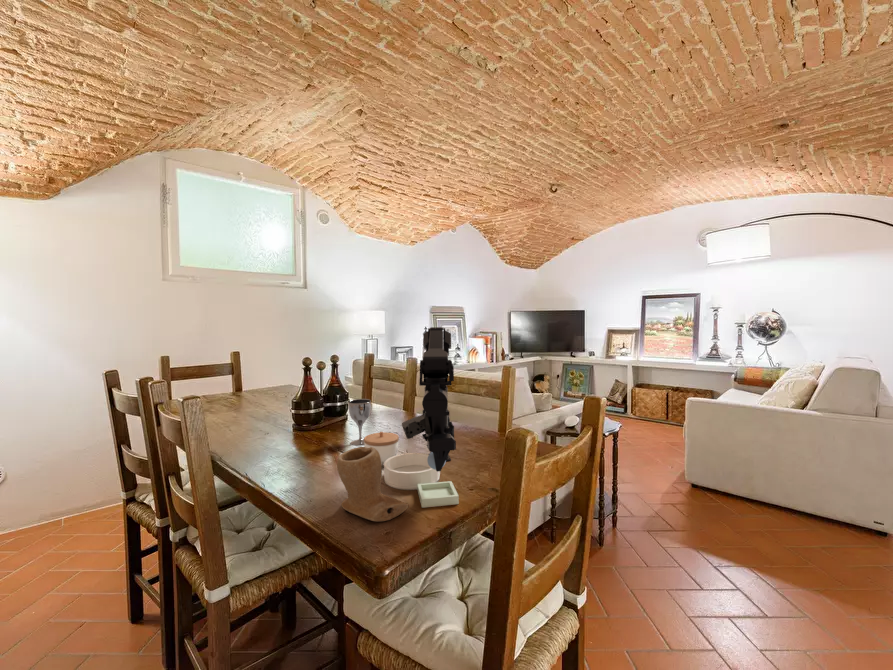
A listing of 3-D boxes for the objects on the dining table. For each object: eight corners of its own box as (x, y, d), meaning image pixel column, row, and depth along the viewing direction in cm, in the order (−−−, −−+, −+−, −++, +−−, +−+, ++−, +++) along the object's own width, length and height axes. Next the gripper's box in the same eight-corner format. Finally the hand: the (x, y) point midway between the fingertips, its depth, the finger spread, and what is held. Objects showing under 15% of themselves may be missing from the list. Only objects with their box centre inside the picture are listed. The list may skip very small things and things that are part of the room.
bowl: (383, 470, 123) (383, 455, 122) (435, 466, 125) (434, 451, 125) (385, 492, 107) (385, 475, 107) (444, 487, 110) (443, 470, 110)
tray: (417, 491, 108) (417, 484, 108) (451, 488, 109) (451, 481, 109) (421, 507, 99) (421, 499, 99) (458, 504, 100) (458, 495, 100)
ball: (444, 464, 106) (443, 447, 106) (447, 471, 102) (447, 453, 102) (426, 466, 106) (426, 448, 105) (428, 473, 101) (428, 454, 101)
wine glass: (373, 444, 147) (372, 402, 146) (351, 447, 144) (349, 404, 143) (369, 437, 154) (368, 398, 153) (347, 440, 151) (346, 399, 150)
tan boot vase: (327, 512, 97) (326, 449, 96) (368, 495, 106) (367, 437, 105) (368, 535, 87) (367, 465, 86) (409, 513, 96) (408, 450, 95)
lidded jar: (404, 457, 133) (403, 428, 133) (390, 469, 123) (390, 438, 123) (373, 454, 136) (373, 426, 136) (358, 466, 126) (357, 435, 125)
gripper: (400, 399, 110) (401, 457, 111) (407, 417, 92) (408, 485, 93) (442, 397, 112) (442, 453, 113) (456, 414, 94) (456, 481, 95)
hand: (437, 467), depth 104 cm, fingers closed on ball, 4 cm apart
